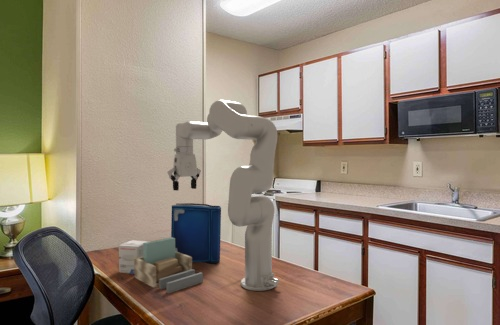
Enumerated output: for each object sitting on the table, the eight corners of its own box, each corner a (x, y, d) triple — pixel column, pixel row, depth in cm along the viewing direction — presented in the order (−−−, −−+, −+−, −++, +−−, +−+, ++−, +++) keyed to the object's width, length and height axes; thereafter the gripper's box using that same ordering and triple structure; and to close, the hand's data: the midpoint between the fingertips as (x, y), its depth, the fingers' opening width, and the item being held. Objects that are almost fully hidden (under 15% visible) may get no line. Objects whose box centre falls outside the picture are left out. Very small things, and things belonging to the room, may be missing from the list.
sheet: (175, 271, 130) (175, 238, 130) (146, 279, 122) (146, 244, 122) (172, 270, 132) (171, 237, 132) (143, 278, 124) (143, 243, 123)
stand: (206, 285, 119) (206, 273, 119) (169, 298, 108) (169, 285, 108) (191, 278, 125) (191, 267, 125) (155, 290, 115) (155, 278, 114)
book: (222, 259, 148) (222, 203, 148) (219, 264, 141) (219, 205, 141) (175, 258, 150) (174, 202, 150) (170, 263, 143) (169, 205, 143)
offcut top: (177, 267, 125) (177, 259, 125) (159, 273, 119) (159, 264, 119) (171, 265, 127) (171, 257, 127) (153, 270, 121) (153, 262, 121)
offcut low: (181, 275, 125) (181, 266, 125) (157, 283, 118) (157, 273, 118) (175, 273, 128) (175, 264, 128) (151, 280, 121) (151, 270, 121)
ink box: (150, 269, 136) (149, 240, 136) (138, 276, 128) (137, 246, 127) (131, 267, 138) (131, 239, 138) (118, 274, 130) (118, 244, 130)
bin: (192, 278, 126) (192, 257, 126) (153, 290, 115) (153, 267, 114) (172, 269, 136) (171, 249, 136) (134, 279, 124) (134, 258, 124)
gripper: (173, 150, 141) (173, 191, 141) (205, 151, 153) (205, 188, 154) (163, 151, 146) (163, 190, 146) (194, 151, 158) (195, 187, 159)
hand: (185, 189), depth 150 cm, fingers open, 9 cm apart
